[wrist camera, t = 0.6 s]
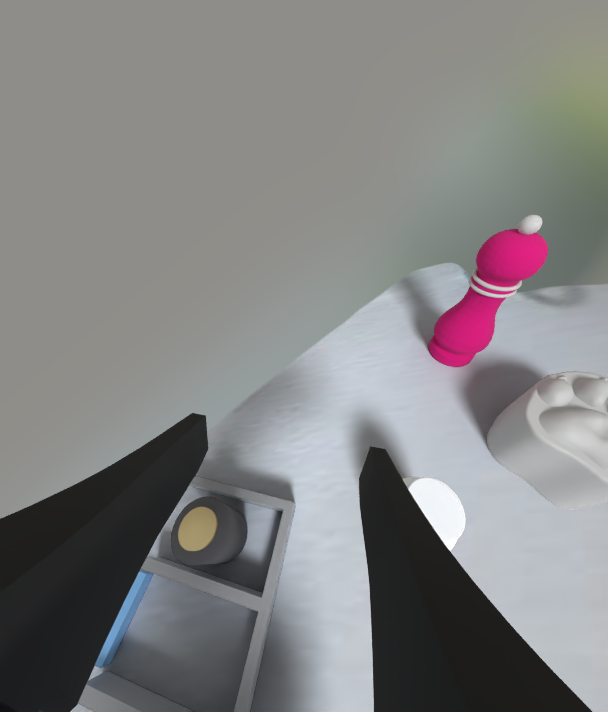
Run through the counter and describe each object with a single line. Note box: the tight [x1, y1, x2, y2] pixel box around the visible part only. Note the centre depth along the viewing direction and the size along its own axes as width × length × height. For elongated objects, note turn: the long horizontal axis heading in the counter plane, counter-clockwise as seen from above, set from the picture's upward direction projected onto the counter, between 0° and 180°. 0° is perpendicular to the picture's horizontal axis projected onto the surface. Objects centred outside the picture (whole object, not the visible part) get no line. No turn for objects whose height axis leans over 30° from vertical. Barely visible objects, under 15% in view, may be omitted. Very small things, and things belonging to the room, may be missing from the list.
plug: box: [171, 497, 248, 565], centre depth 21 cm, size 4×4×8 cm
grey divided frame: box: [78, 476, 295, 712], centre depth 21 cm, size 15×13×2 cm
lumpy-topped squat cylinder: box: [487, 371, 608, 510], centre depth 25 cm, size 10×13×9 cm
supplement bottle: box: [403, 477, 465, 551], centre depth 21 cm, size 5×5×10 cm
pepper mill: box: [429, 215, 548, 367], centre depth 31 cm, size 7×7×20 cm
